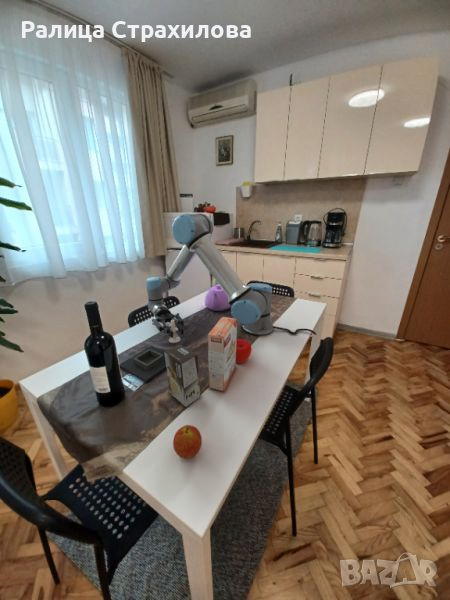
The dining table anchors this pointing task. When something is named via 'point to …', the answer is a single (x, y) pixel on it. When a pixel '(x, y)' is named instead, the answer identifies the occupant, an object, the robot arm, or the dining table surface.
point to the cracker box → (222, 352)
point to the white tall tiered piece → (174, 333)
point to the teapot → (217, 299)
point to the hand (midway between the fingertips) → (177, 333)
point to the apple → (242, 350)
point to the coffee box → (183, 374)
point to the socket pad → (146, 364)
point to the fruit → (187, 441)
